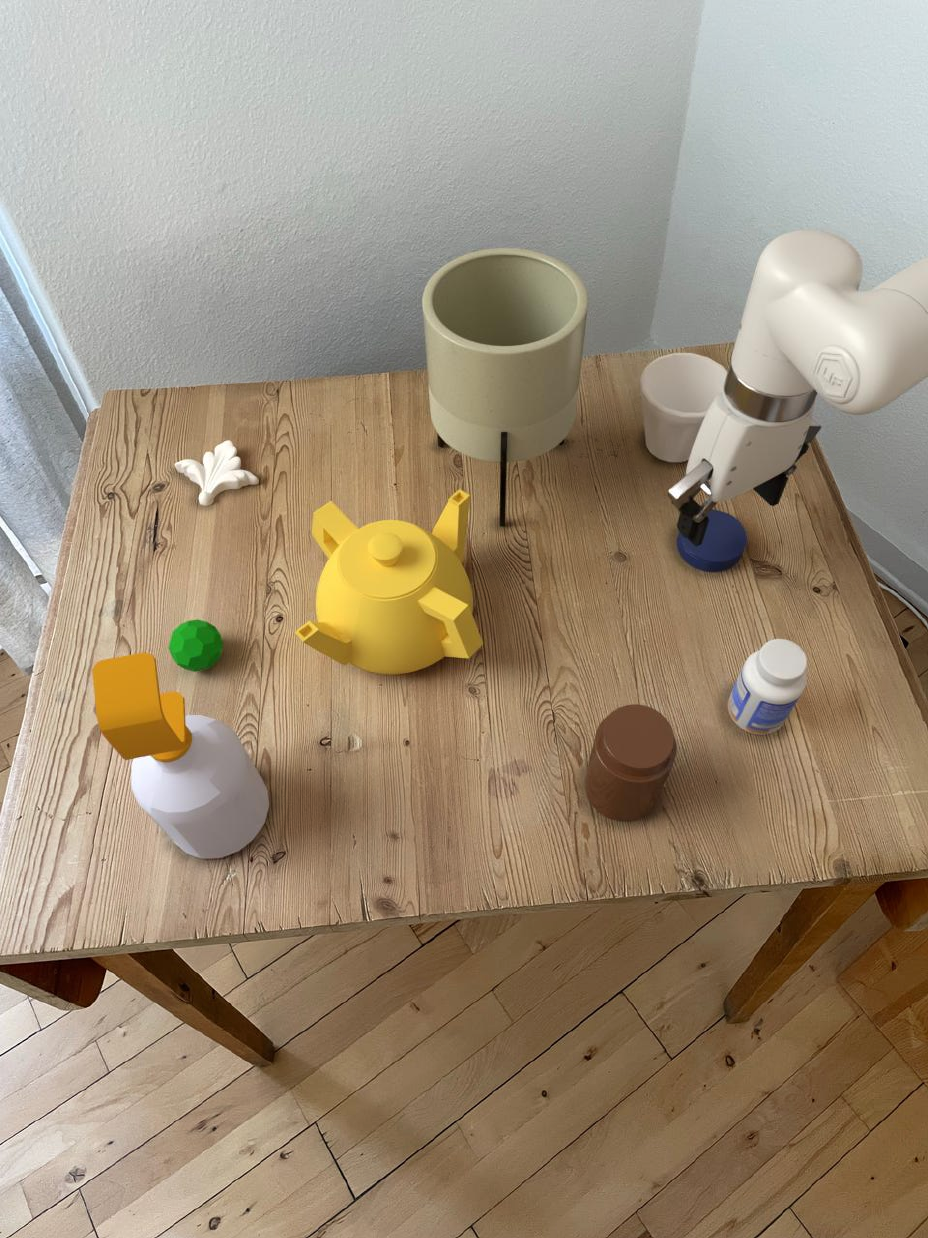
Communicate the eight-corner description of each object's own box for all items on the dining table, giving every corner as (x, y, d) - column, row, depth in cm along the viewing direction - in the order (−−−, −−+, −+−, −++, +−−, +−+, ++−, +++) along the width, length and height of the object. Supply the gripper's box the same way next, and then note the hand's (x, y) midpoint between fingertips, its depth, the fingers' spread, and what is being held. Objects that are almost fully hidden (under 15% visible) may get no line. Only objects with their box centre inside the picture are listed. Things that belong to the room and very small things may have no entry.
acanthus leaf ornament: (176, 471, 100) (171, 459, 99) (230, 445, 102) (226, 433, 101) (205, 511, 97) (200, 499, 95) (260, 483, 99) (256, 471, 97)
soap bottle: (265, 754, 81) (188, 607, 60) (274, 849, 76) (193, 724, 55) (167, 774, 80) (55, 631, 59) (169, 870, 75) (48, 752, 54)
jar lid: (664, 554, 92) (667, 543, 90) (692, 510, 95) (695, 499, 94) (727, 582, 90) (731, 571, 88) (753, 537, 93) (757, 526, 91)
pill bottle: (796, 708, 82) (830, 656, 74) (764, 747, 80) (795, 698, 72) (746, 674, 84) (774, 619, 76) (714, 712, 82) (739, 659, 74)
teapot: (319, 554, 93) (299, 478, 83) (475, 546, 93) (473, 469, 83) (311, 693, 84) (287, 627, 74) (484, 684, 84) (483, 617, 74)
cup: (655, 402, 104) (668, 339, 97) (731, 436, 101) (751, 374, 93) (612, 453, 100) (622, 391, 92) (690, 490, 97) (708, 429, 89)
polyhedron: (223, 631, 88) (210, 604, 84) (232, 671, 86) (219, 646, 82) (174, 645, 87) (159, 619, 83) (181, 685, 85) (166, 661, 81)
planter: (600, 484, 97) (627, 311, 78) (477, 542, 94) (474, 374, 74) (528, 403, 105) (537, 226, 86) (411, 452, 101) (393, 279, 82)
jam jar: (662, 760, 79) (684, 706, 70) (654, 829, 76) (676, 781, 67) (590, 746, 80) (602, 691, 71) (579, 813, 77) (591, 765, 68)
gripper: (817, 322, 77) (768, 459, 91) (661, 395, 73) (634, 527, 87) (880, 370, 74) (818, 505, 88) (719, 450, 69) (682, 578, 83)
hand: (727, 516), depth 87 cm, fingers open, 9 cm apart
